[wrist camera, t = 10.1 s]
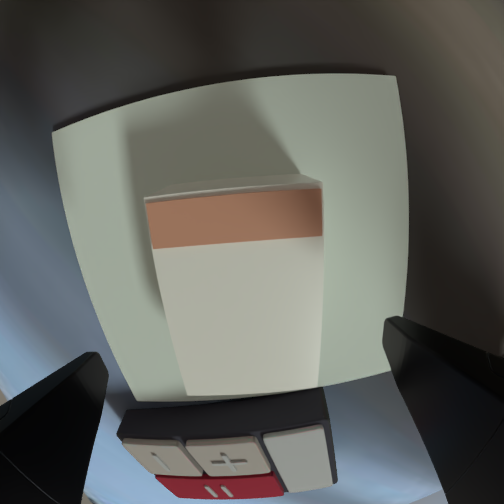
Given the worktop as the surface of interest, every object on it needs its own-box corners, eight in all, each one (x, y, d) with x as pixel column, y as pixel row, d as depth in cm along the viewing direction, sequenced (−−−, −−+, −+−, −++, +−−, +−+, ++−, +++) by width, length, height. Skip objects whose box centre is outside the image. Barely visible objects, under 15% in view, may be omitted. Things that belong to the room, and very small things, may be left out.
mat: (390, 78, 12) (395, 76, 12) (391, 364, 18) (394, 369, 17) (57, 132, 13) (51, 132, 12) (139, 395, 18) (137, 401, 18)
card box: (303, 338, 16) (318, 389, 12) (198, 346, 16) (187, 397, 12) (301, 173, 13) (324, 182, 9) (171, 184, 13) (142, 198, 9)
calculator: (109, 440, 16) (331, 427, 14) (127, 401, 20) (321, 378, 18) (175, 501, 19) (339, 490, 18) (182, 467, 24) (333, 453, 22)
